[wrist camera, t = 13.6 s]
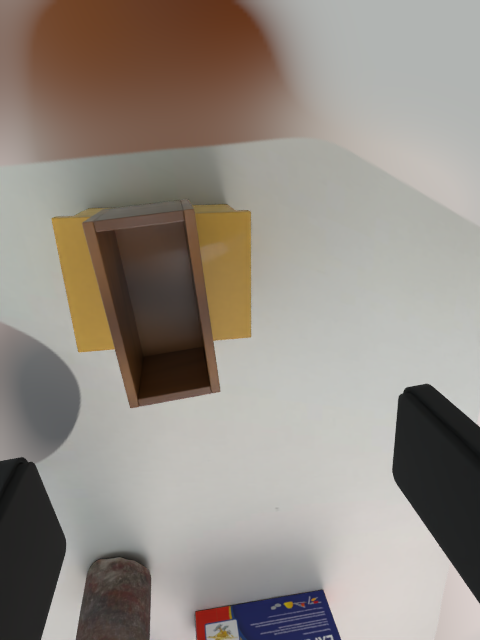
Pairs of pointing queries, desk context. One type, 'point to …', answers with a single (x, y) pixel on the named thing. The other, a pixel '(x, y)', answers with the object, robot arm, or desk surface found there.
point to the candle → (116, 601)
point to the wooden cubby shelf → (155, 299)
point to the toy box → (270, 620)
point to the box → (218, 267)
